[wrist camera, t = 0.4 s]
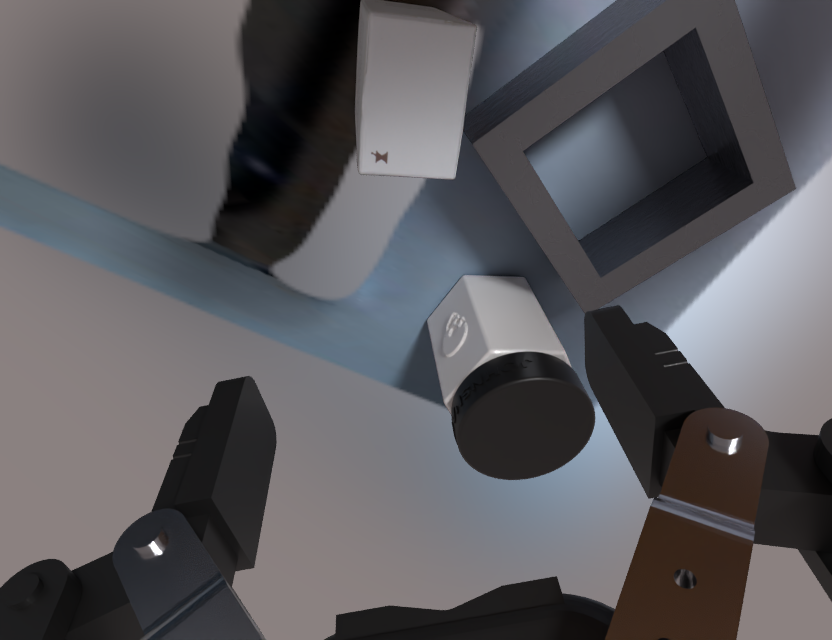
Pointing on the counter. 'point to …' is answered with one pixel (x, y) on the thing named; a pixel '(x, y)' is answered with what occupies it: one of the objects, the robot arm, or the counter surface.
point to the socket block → (677, 200)
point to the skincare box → (411, 89)
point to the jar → (507, 380)
